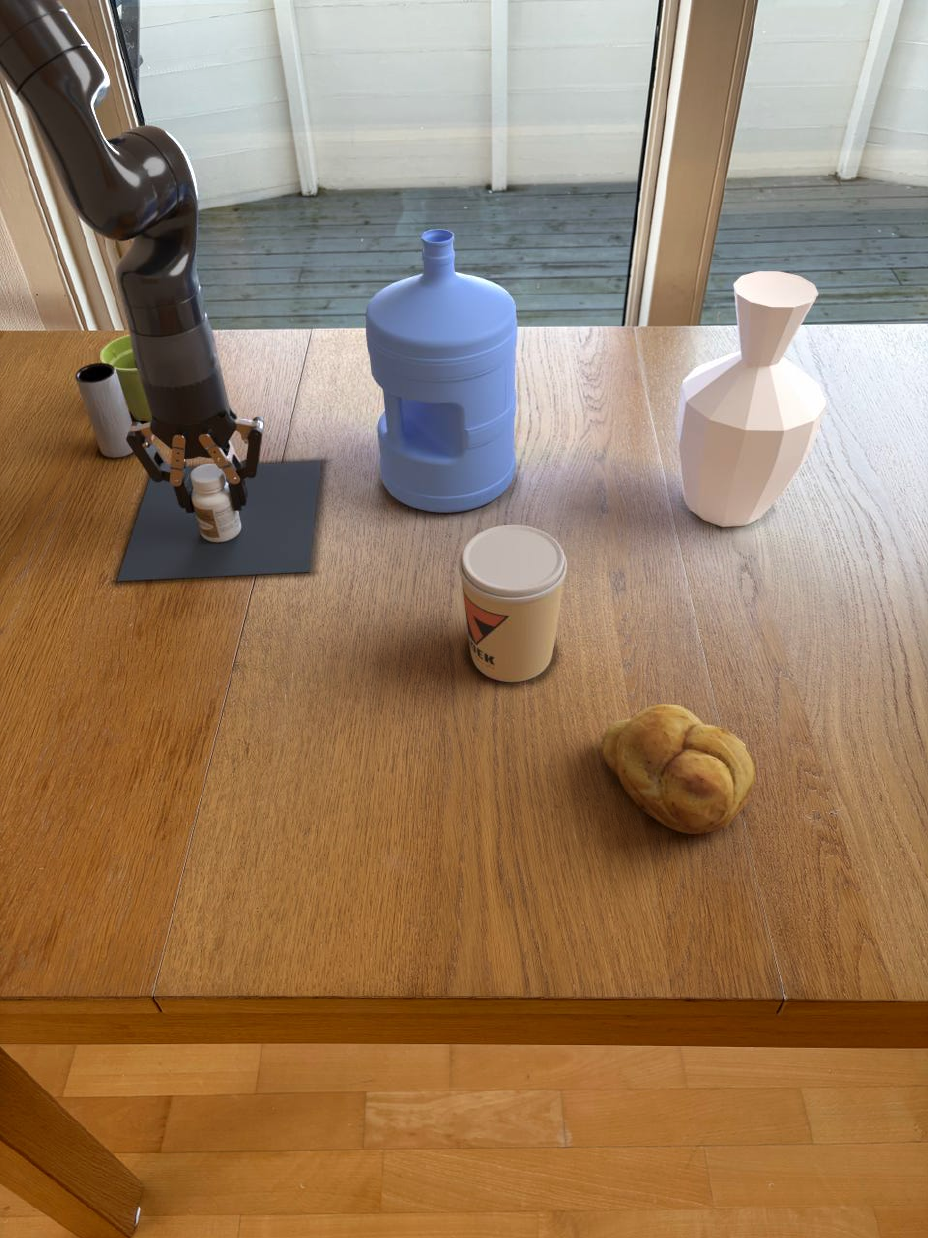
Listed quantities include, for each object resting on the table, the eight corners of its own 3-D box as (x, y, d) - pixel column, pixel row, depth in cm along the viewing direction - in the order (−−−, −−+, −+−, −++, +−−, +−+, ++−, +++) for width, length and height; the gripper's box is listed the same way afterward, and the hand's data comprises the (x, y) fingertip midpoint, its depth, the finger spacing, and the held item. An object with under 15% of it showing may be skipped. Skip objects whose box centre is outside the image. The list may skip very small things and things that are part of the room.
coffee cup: (447, 634, 92) (442, 538, 83) (535, 607, 94) (539, 511, 86) (485, 701, 86) (483, 605, 77) (578, 671, 88) (586, 574, 80)
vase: (692, 554, 99) (734, 333, 82) (646, 476, 109) (674, 265, 92) (818, 534, 101) (885, 314, 84) (761, 459, 111) (811, 249, 94)
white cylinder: (103, 461, 114) (77, 385, 107) (98, 442, 117) (72, 367, 110) (141, 452, 115) (118, 376, 108) (135, 433, 118) (111, 358, 111)
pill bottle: (193, 530, 104) (177, 472, 99) (227, 513, 106) (213, 455, 101) (214, 549, 102) (199, 490, 96) (249, 531, 104) (236, 473, 98)
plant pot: (132, 439, 117) (112, 377, 111) (109, 405, 123) (89, 344, 117) (204, 416, 121) (188, 354, 115) (178, 384, 127) (162, 324, 121)
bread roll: (575, 766, 80) (581, 705, 75) (654, 710, 84) (665, 647, 79) (691, 870, 73) (708, 810, 67) (772, 802, 77) (793, 741, 72)
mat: (117, 581, 98) (116, 581, 98) (153, 469, 113) (152, 468, 113) (309, 572, 99) (309, 571, 99) (321, 461, 113) (321, 460, 113)
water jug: (466, 423, 118) (461, 192, 99) (542, 485, 109) (552, 242, 89) (356, 465, 112) (327, 228, 93) (426, 534, 103) (409, 286, 83)
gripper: (259, 341, 92) (285, 484, 104) (111, 346, 92) (155, 489, 104) (249, 380, 87) (278, 526, 99) (93, 386, 87) (141, 532, 99)
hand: (215, 506), depth 102 cm, fingers closed on pill bottle, 4 cm apart
